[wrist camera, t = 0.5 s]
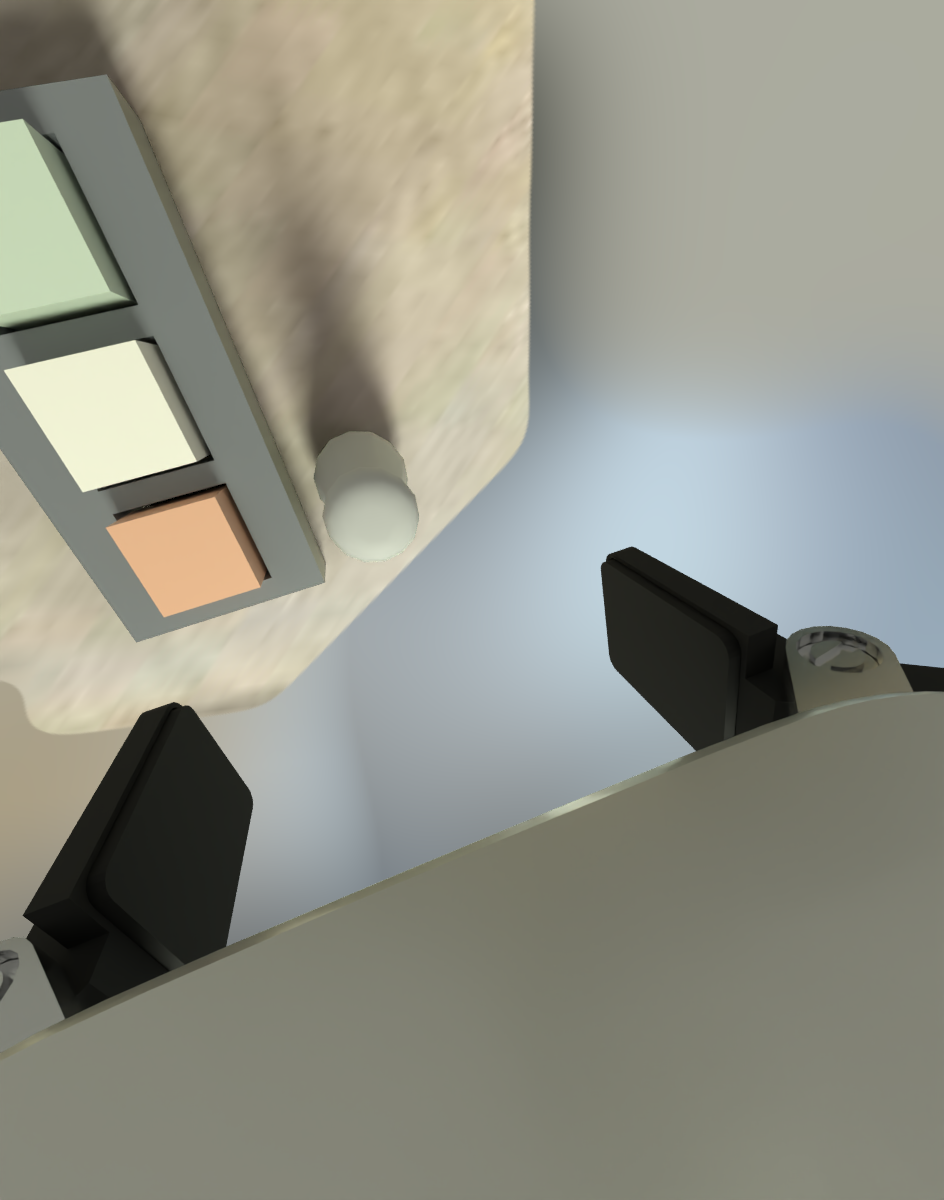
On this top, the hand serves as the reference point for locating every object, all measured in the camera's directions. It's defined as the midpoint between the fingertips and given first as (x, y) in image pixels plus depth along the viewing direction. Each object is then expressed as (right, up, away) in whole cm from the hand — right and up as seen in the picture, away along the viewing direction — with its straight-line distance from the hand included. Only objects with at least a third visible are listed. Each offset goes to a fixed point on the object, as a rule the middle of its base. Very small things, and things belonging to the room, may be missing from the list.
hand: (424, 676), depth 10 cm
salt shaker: (-7, +11, +21) cm, 25 cm away
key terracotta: (-16, +5, +18) cm, 25 cm away
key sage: (-19, +18, +11) cm, 29 cm away
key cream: (-17, +12, +15) cm, 26 cm away
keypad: (-18, +13, +16) cm, 27 cm away
